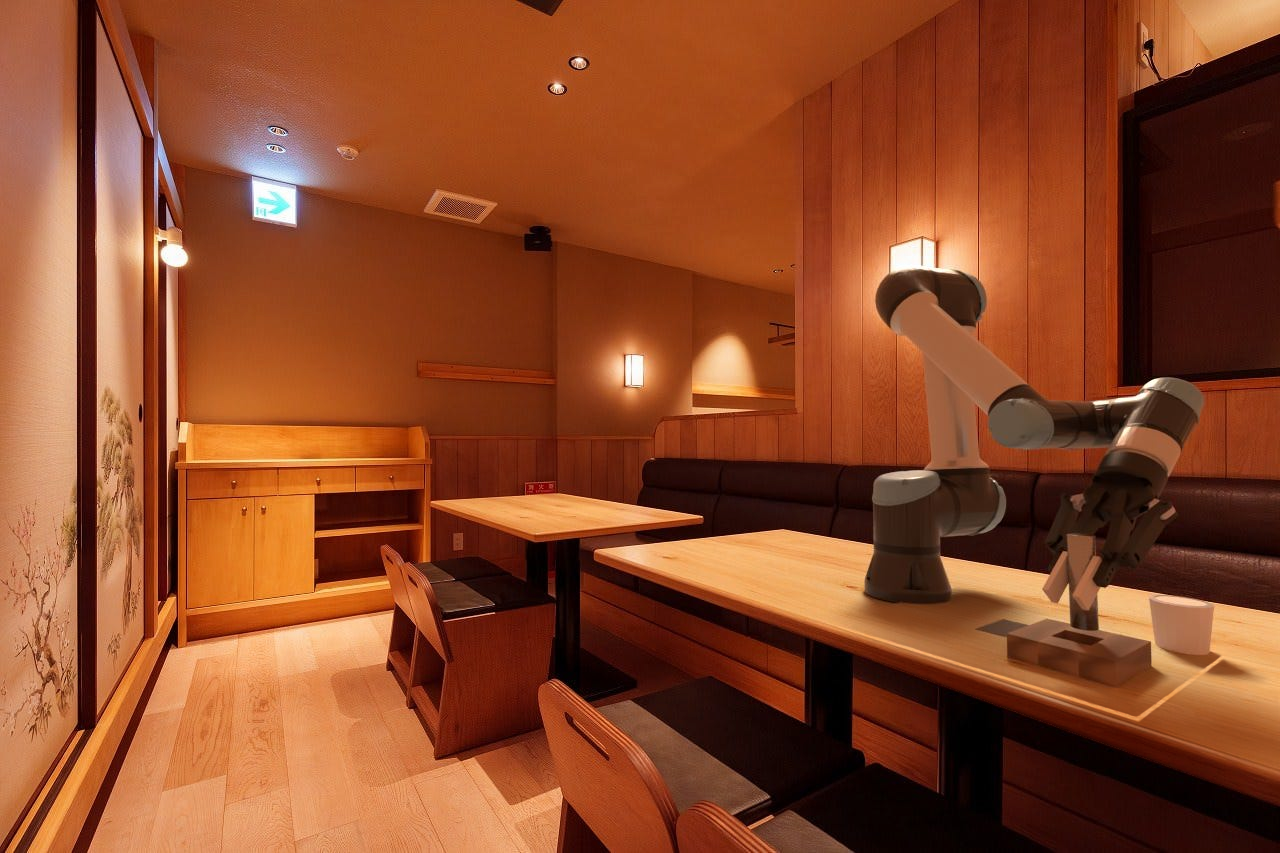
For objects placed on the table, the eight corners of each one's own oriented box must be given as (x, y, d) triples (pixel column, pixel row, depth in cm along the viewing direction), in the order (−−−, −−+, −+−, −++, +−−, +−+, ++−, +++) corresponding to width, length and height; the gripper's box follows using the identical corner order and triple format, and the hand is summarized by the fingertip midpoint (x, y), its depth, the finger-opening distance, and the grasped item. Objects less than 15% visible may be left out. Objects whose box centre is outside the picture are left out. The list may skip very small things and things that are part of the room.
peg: (1066, 626, 78) (1062, 534, 79) (1075, 622, 80) (1072, 532, 80) (1093, 632, 76) (1089, 537, 76) (1102, 627, 78) (1098, 535, 78)
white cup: (1193, 661, 80) (1191, 609, 80) (1137, 644, 86) (1136, 596, 86) (1228, 656, 81) (1227, 604, 82) (1171, 640, 88) (1170, 592, 88)
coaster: (975, 631, 92) (975, 628, 92) (1003, 621, 97) (1003, 619, 97) (1040, 648, 85) (1040, 645, 85) (1067, 636, 90) (1067, 633, 90)
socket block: (1007, 659, 80) (1006, 633, 80) (1047, 642, 87) (1046, 618, 87) (1116, 690, 70) (1115, 660, 70) (1151, 668, 77) (1151, 641, 77)
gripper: (1219, 489, 77) (1151, 636, 70) (1085, 482, 92) (1017, 603, 85) (1196, 448, 75) (1123, 595, 68) (1062, 448, 90) (991, 568, 83)
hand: (1064, 599), depth 77 cm, fingers closed on peg, 3 cm apart
